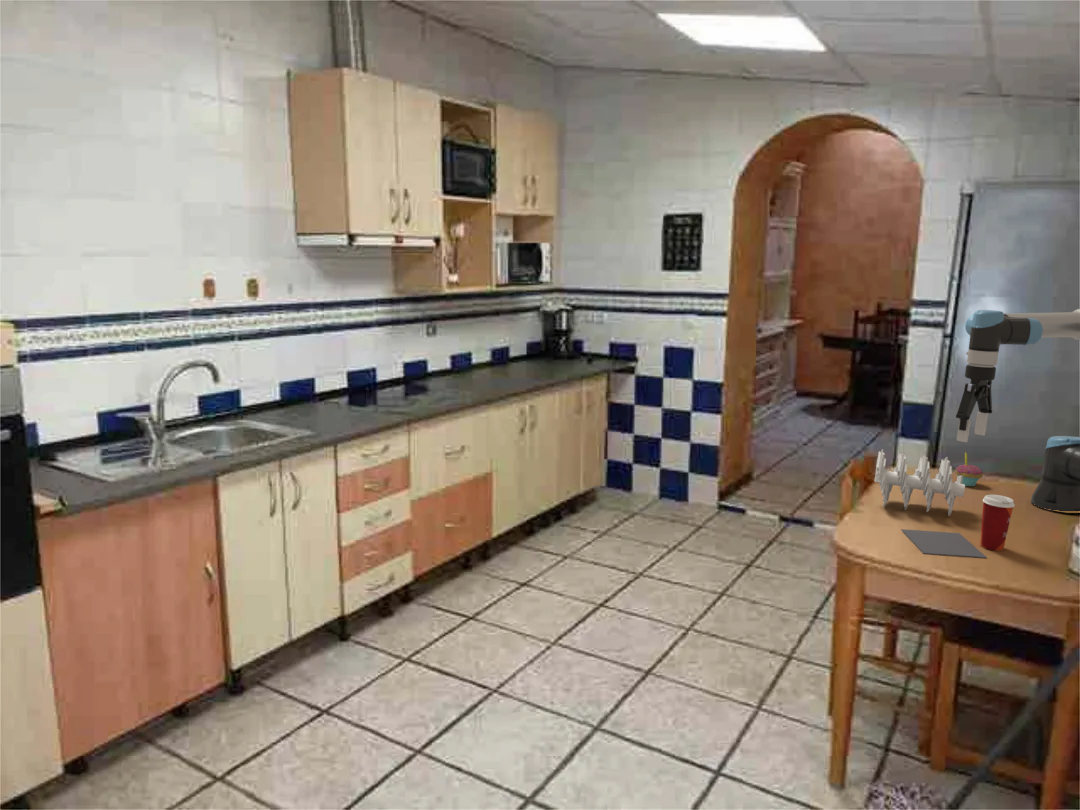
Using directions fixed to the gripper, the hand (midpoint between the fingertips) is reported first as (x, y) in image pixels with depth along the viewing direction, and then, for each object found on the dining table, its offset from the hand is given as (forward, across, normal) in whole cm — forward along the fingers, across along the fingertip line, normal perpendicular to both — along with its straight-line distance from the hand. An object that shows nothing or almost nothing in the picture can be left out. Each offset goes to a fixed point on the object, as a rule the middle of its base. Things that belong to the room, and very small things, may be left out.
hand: (970, 437), depth 231 cm
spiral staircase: (+27, -4, -14) cm, 31 cm away
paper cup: (+27, +12, +13) cm, 32 cm away
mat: (+26, +20, +3) cm, 34 cm away
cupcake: (+27, -47, -14) cm, 56 cm away
